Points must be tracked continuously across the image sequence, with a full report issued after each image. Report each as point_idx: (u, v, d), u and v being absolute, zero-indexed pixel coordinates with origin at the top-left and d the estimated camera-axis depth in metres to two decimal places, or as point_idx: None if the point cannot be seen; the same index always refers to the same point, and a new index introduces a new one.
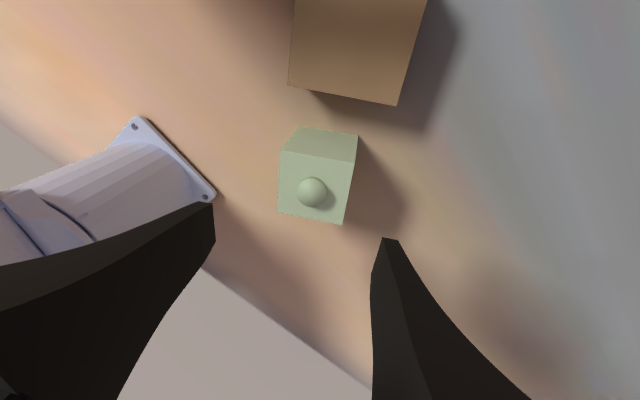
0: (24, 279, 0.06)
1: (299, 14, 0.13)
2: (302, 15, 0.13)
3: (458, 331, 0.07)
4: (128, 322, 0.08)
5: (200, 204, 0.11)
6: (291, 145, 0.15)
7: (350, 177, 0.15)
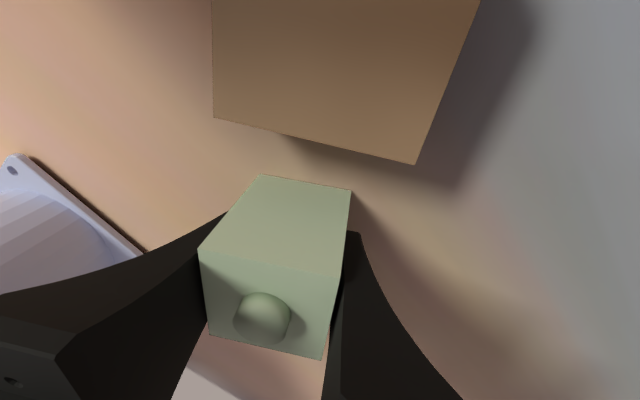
0: (90, 294, 0.06)
1: None
2: None
3: (394, 317, 0.07)
4: (178, 334, 0.08)
5: None
6: (225, 232, 0.08)
7: (332, 299, 0.08)
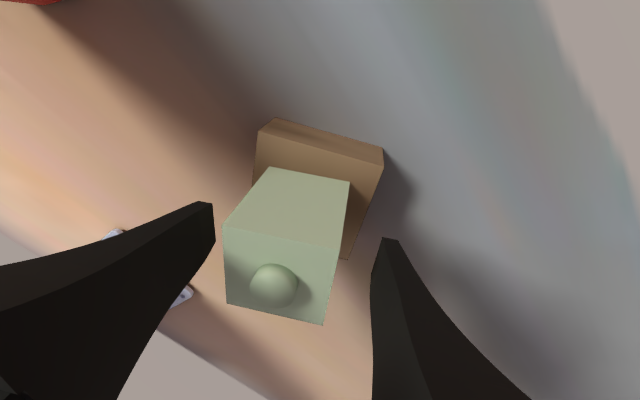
0: (24, 279, 0.06)
1: None
2: None
3: (458, 331, 0.07)
4: (128, 322, 0.08)
5: (200, 204, 0.11)
6: (243, 212, 0.10)
7: (333, 268, 0.09)
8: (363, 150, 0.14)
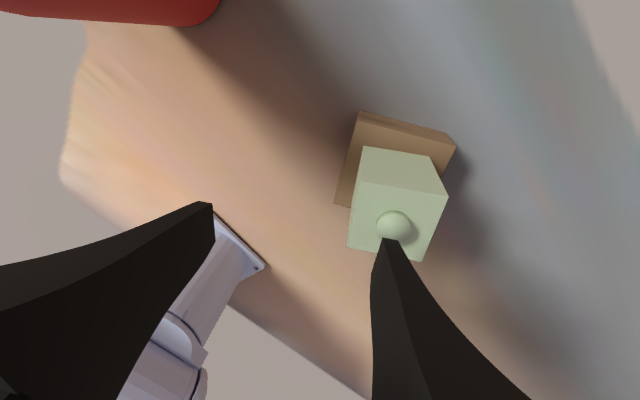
0: (24, 279, 0.06)
1: (349, 162, 0.18)
2: (351, 163, 0.18)
3: (458, 331, 0.07)
4: (128, 322, 0.08)
5: (200, 204, 0.11)
6: (368, 174, 0.13)
7: (440, 211, 0.13)
8: (435, 135, 0.17)
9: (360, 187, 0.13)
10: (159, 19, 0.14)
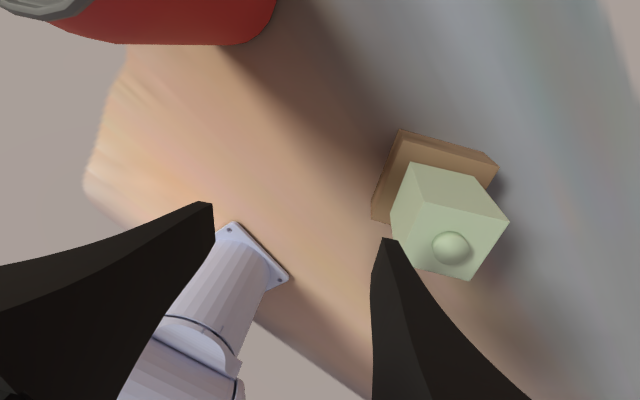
0: (24, 279, 0.06)
1: (391, 180, 0.18)
2: (393, 181, 0.18)
3: (458, 331, 0.07)
4: (128, 322, 0.08)
5: (200, 204, 0.11)
6: (428, 194, 0.13)
7: (498, 235, 0.13)
8: (475, 154, 0.18)
9: (423, 207, 0.13)
10: (217, 41, 0.14)
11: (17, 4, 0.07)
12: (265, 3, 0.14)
